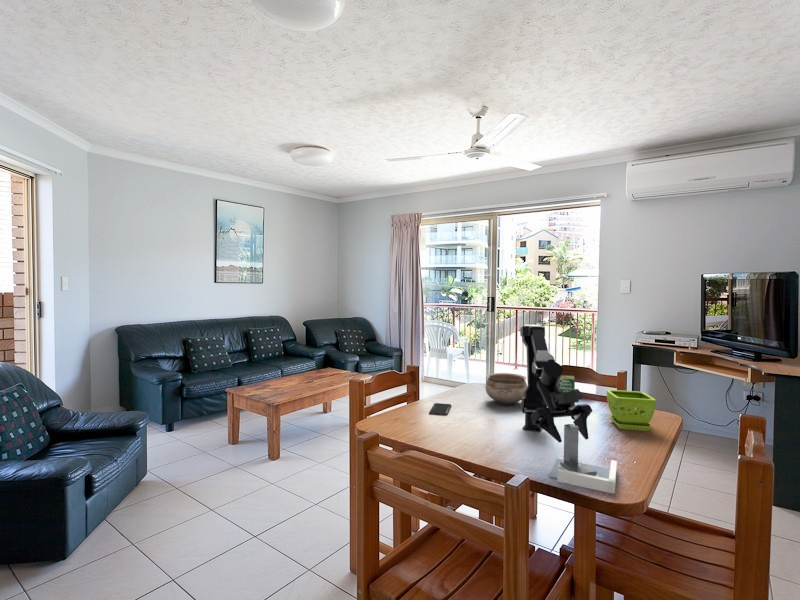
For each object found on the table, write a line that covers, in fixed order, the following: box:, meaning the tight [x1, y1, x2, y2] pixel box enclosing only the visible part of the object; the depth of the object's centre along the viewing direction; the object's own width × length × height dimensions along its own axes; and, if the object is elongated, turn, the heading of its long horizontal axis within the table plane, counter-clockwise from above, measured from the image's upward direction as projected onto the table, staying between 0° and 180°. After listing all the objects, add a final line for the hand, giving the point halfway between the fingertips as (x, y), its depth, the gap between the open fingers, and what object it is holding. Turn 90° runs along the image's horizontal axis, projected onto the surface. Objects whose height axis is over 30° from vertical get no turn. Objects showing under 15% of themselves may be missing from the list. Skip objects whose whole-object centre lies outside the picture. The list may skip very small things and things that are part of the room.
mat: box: [548, 458, 610, 480], centre depth 120 cm, size 14×15×1 cm
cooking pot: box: [485, 372, 528, 406], centre depth 194 cm, size 25×19×12 cm
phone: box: [428, 402, 452, 417], centre depth 183 cm, size 8×1×15 cm
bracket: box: [560, 423, 597, 476], centre depth 122 cm, size 9×6×12 cm, turn 16°
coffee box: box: [557, 375, 576, 406], centre depth 193 cm, size 8×3×13 cm, turn 70°
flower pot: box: [606, 389, 657, 432], centre depth 162 cm, size 14×14×13 cm
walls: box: [557, 459, 618, 495], centre depth 119 cm, size 16×14×3 cm
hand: (574, 440), depth 123 cm, fingers open, 9 cm apart
